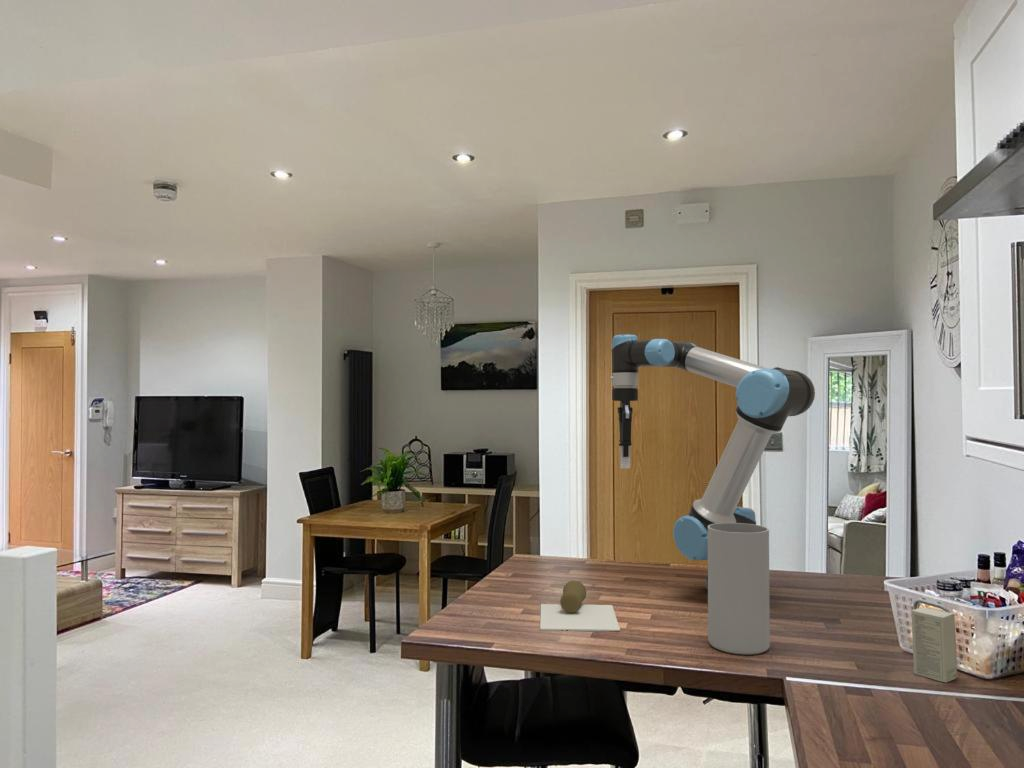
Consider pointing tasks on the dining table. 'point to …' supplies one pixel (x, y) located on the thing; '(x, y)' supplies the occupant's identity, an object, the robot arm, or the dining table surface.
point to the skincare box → (934, 644)
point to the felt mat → (578, 618)
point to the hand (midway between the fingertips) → (625, 467)
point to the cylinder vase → (738, 588)
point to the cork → (572, 596)
